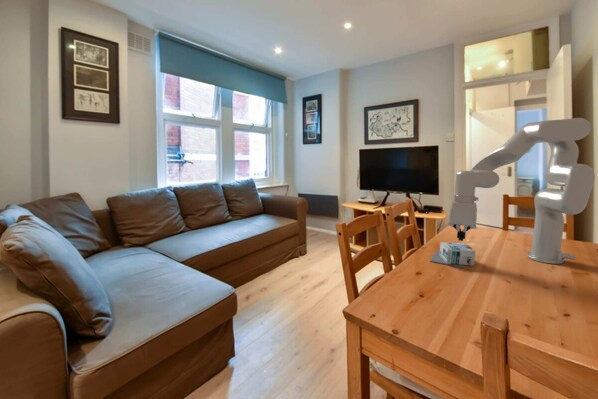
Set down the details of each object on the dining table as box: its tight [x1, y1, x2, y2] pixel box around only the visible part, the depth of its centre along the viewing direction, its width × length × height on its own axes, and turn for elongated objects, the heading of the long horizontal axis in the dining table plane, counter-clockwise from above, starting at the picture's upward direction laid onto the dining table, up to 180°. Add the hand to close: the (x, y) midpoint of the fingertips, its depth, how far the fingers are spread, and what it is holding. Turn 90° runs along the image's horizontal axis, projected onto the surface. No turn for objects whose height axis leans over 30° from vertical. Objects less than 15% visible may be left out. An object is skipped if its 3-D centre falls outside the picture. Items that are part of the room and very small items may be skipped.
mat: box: [429, 247, 466, 269], centre depth 125 cm, size 13×20×1 cm, turn 144°
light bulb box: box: [439, 241, 476, 266], centre depth 120 cm, size 11×7×11 cm
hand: (460, 239), depth 122 cm, fingers closed
